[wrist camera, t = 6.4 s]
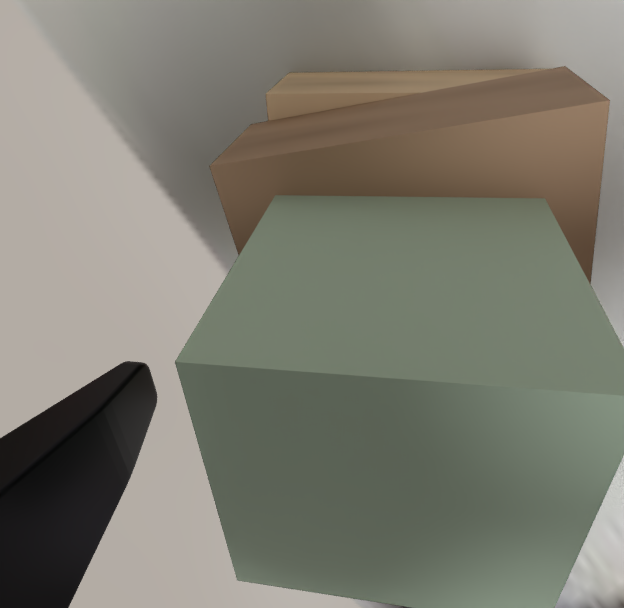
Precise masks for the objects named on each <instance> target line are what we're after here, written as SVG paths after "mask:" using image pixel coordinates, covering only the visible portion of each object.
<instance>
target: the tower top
mask: <svg viewBox="0 0 624 608" xmlns="http://www.w3.org/2000/svg"><path fill="white" fill-rule="evenodd" d="M609 103H610V100H609V99H607V98H606V97H605V96H603V95H602V94H601V93H600V92H598V91H597V90H596V89H594V88H593V87H592V86H590V85H589V84H588V83H586V82H585V81H584V80H582V79H581V78H580V77H579V76H577V75H576V74H575V73H573V72H572V71H571V70H569V69H568V68H567V67H565V66H564V67H558V68H553V69H547V70H542V71H536V72H531V73H526V74H520V75H515V76H509V77H504V78H499V79H493V80H488V81H482V82H477V83H472V84H466V85H461V86H455V87H450V88H444V89H439V90H434V91H428V92H423V93H417V94H412V95H407V96H401V97H396V98H390V99H385V100H379V101H374V102H369V103H363V104H358V105H352V106H347V107H342V108H336V109H331V110H325V111H320V112H314V113H309V114H304V115H298V116H293V117H287V118H282V119H277V120H271V121H266V122H260V123H255V124H251V125H250V126H249V127H248V128H247V129H246V130H245V131H244V132H243V133H242V134H241V135H240V136H239V137H238V138H237V139H236V140H235V141H234V142H233V143H232V144H231V145H230V146H229V147H228V148H227V149H226V150H225V151H224V152H223V153H222V154H221V155H220V156H219V157H218V158H217V159H216V160H215V161H214V162H213V163H212V164H211V165H210V166H209V167H210V170H211V173H212V176H213V179H214V182H215V185H216V188H217V191H218V194H219V197H220V200H221V203H222V206H223V209H224V212H225V215H226V218H227V221H228V224H229V227H230V230H231V233H232V236H233V239H234V242H235V245H236V248H237V251H238V254H239V255H240V253H241V251H242V250H243V248H244V246H245V245H246V243H247V241H248V240H249V238H250V236H251V235H252V233H253V232H254V230H255V228H256V227H257V225H258V223H259V222H260V220H261V218H262V217H263V215H264V213H265V212H266V210H267V208H268V207H269V205H270V203H271V202H272V200H273V198H274V197H275V195H300V196H386V197H469V198H545V199H546V201H547V203H548V205H549V207H550V209H551V211H552V213H553V215H554V217H555V218H556V220H557V222H558V224H559V226H560V228H561V230H562V232H563V234H564V236H565V238H566V239H567V241H568V243H569V245H570V247H571V249H572V251H573V253H574V255H575V257H576V258H577V260H578V262H579V264H580V266H581V268H582V270H583V272H584V274H585V276H586V277H587V279H588V281H589V283H590V282H591V273H592V263H593V254H594V244H595V235H596V226H597V216H598V207H599V197H600V188H601V178H602V169H603V160H604V150H605V141H606V131H607V122H608V112H609Z"/></svg>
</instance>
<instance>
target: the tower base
mask: <svg viewBox="0 0 624 608" xmlns="http://www.w3.org/2000/svg"><path fill="white" fill-rule="evenodd" d="M542 70H547V69H497V70H432V71H367V72H302V73H288V74H287V75H286V76H285V77H284V78H283V79H282V80H281V81H279V82H278V83H277V84H276V85H275V86H274V87H273V88H272V89H270V90H269V91H268V92H267V93H266V103H267V114H268V121H271V120H277V119H282V118H287V117H293V116H298V115H304V114H309V113H314V112H320V111H325V110H331V109H336V108H342V107H347V106H352V105H358V104H363V103H369V102H374V101H379V100H385V99H390V98H396V97H401V96H407V95H412V94H417V93H423V92H428V91H434V90H439V89H444V88H450V87H455V86H461V85H466V84H472V83H477V82H482V81H488V80H493V79H499V78H504V77H509V76H515V75H520V74H526V73H531V72H536V71H542Z"/></svg>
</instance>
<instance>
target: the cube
mask: <svg viewBox="0 0 624 608" xmlns="http://www.w3.org/2000/svg"><path fill="white" fill-rule="evenodd" d="M175 364H176V367H177V371H178V374H179V378H180V381H181V385H182V388H183V392H184V395H185V399H186V402H187V406H188V409H189V413H190V416H191V420H192V423H193V427H194V430H195V434H196V437H197V441H198V444H199V448H200V451H201V455H202V459H203V462H204V465H205V469H206V472H207V476H208V480H209V483H210V486H211V490H212V493H213V497H214V501H215V504H216V508H217V511H218V515H219V518H220V521H221V525H222V529H223V532H224V535H225V539H226V543H227V546H228V550H229V553H230V557H231V560H232V564H233V567H234V570H235V574H236V577H237V580H238V581H244V582H251V583H258V584H263V585H271V586H277V587H283V588H290V589H296V590H302V591H308V592H315V593H321V594H328V595H334V596H341V597H347V598H353V599H360V600H366V601H373V602H379V603H386V604H392V605H398V606H405V607H411V608H554V607H555V605H556V603H557V601H558V598H559V596H560V594H561V592H562V590H563V587H564V585H565V583H566V581H567V579H568V576H569V574H570V572H571V570H572V568H573V565H574V563H575V561H576V559H577V557H578V554H579V552H580V550H581V548H582V546H583V543H584V541H585V539H586V537H587V535H588V532H589V530H590V528H591V526H592V524H593V521H594V519H595V517H596V515H597V513H598V510H599V508H600V506H601V504H602V502H603V499H604V497H605V495H606V493H607V491H608V488H609V486H610V484H611V482H612V480H613V477H614V475H615V473H616V471H617V469H618V466H619V464H620V462H621V460H622V458H623V455H624V348H623V346H622V344H621V342H620V340H619V338H618V336H617V335H616V333H615V331H614V329H613V327H612V325H611V323H610V321H609V319H608V317H607V316H606V314H605V312H604V310H603V308H602V306H601V304H600V302H599V300H598V298H597V297H596V295H595V293H594V291H593V289H592V287H591V285H590V283H589V281H588V279H587V277H586V276H585V274H584V272H583V270H582V268H581V266H580V264H579V262H578V260H577V258H576V257H575V255H574V253H573V251H572V249H571V247H570V245H569V243H568V241H567V239H566V238H565V236H564V234H563V232H562V230H561V228H560V226H559V224H558V222H557V220H556V218H555V217H554V215H553V213H552V211H551V209H550V207H549V205H548V203H547V201H546V199H545V198H469V197H386V196H300V195H275V197H274V198H273V200H272V202H271V203H270V205H269V207H268V208H267V210H266V212H265V213H264V215H263V217H262V218H261V220H260V222H259V223H258V225H257V227H256V228H255V230H254V232H253V233H252V235H251V236H250V238H249V240H248V241H247V243H246V245H245V246H244V248H243V250H242V251H241V253H240V255H239V256H238V258H237V260H236V261H235V263H234V265H233V266H232V268H231V270H230V271H229V273H228V275H227V276H226V278H225V280H224V281H223V283H222V285H221V286H220V288H219V290H218V291H217V293H216V295H215V296H214V298H213V300H212V301H211V303H210V305H209V306H208V308H207V310H206V311H205V313H204V314H203V316H202V318H201V320H200V321H199V323H198V325H197V326H196V328H195V329H194V331H193V333H192V334H191V336H190V338H189V339H188V341H187V343H186V344H185V346H184V348H183V350H182V351H181V353H180V354H179V356H178V358H177V359H176V361H175Z"/></svg>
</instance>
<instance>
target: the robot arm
mask: <svg viewBox="0 0 624 608" xmlns="http://www.w3.org/2000/svg"><path fill="white" fill-rule="evenodd" d="M156 403H157V392H156V389H155V385H154V382H153V379H152V376H151V372H150V369H149V367H148V366H147V364H145V363H141V362H130V361H127V362H123V363H122V364H120V365H118V366H116V367H115V368H113V369H112V370H110V371H108V372H107V373H105V374H104V375H102V376H100V377H99V378H97V379H96V380H94V381H92V382H91V383H89V384H87V385H86V386H84V387H82V388H81V389H79V390H78V391H76V392H74V393H73V394H71V395H70V396H68V397H66V398H65V399H63V400H61V401H60V402H58V403H57V404H55V405H53V406H52V407H50V408H48V409H47V410H45V411H44V412H42V413H40V414H39V415H37V416H36V417H34V418H32V419H31V420H29V421H28V422H26V423H24V424H23V425H21V426H19V427H18V428H17V429H15V430H13V431H11V432H10V433H8V434H7V435H5V436H3V437H2V438H0V608H68V607H69V605H70V603H71V601H72V599H73V597H74V595H75V593H76V591H77V588H78V586H79V584H80V582H81V580H82V578H83V576H84V574H85V572H86V570H87V567H88V565H89V563H90V561H91V559H92V557H93V555H94V553H95V551H96V549H97V547H98V545H99V542H100V540H101V538H102V536H103V534H104V532H105V530H106V528H107V526H108V524H109V522H110V520H111V517H112V515H113V513H114V511H115V509H116V507H117V505H118V503H119V500H120V499H121V496H122V494H123V492H124V490H125V488H126V486H127V484H128V481H129V479H130V477H131V474H132V471H133V469H134V467H135V464H136V461H137V458H138V455H139V453H140V450H141V447H142V444H143V441H144V438H145V436H146V432H147V430H148V427H149V424H150V422H151V418H152V416H153V413H154V410H155V407H156ZM404 608H411V607H405V606H404Z"/></svg>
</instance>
